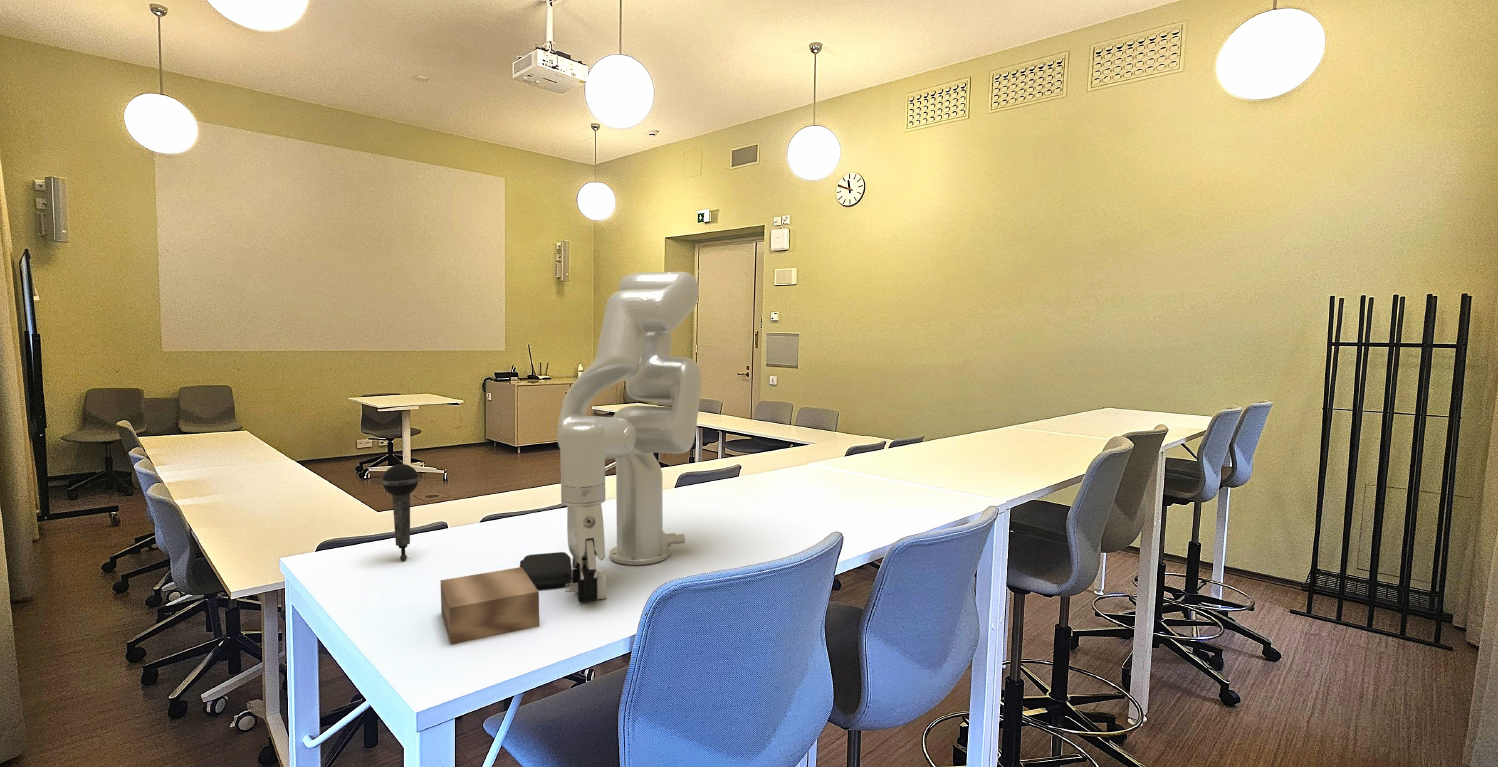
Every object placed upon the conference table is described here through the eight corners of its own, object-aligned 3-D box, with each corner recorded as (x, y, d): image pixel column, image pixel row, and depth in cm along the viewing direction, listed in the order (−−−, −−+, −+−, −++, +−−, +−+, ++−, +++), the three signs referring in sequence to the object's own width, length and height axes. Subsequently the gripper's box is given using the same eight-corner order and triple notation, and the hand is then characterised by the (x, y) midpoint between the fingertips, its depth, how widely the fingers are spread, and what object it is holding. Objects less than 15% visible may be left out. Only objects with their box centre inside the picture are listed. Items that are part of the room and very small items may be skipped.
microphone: (424, 562, 137) (421, 465, 136) (386, 568, 133) (383, 468, 132) (419, 553, 143) (416, 459, 141) (382, 559, 139) (379, 463, 138)
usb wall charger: (606, 599, 118) (606, 577, 118) (565, 603, 116) (565, 580, 116) (605, 591, 122) (605, 569, 122) (566, 594, 120) (565, 572, 120)
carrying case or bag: (515, 568, 135) (511, 595, 121) (515, 553, 135) (510, 578, 121) (570, 563, 138) (572, 589, 124) (570, 548, 138) (572, 573, 124)
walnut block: (522, 600, 118) (521, 566, 118) (539, 628, 107) (538, 591, 107) (441, 615, 112) (440, 580, 111) (450, 646, 101) (449, 607, 100)
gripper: (616, 501, 112) (617, 609, 113) (594, 481, 127) (595, 576, 128) (570, 506, 108) (571, 616, 110) (553, 485, 124) (555, 582, 125)
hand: (584, 594), depth 119 cm, fingers closed on usb wall charger, 4 cm apart
